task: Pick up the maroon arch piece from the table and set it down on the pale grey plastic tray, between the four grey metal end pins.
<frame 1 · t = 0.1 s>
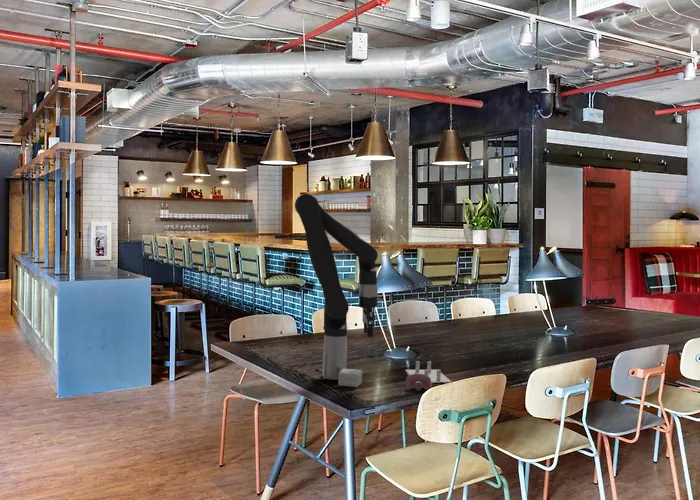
hand: (368, 335, 256), 17 cm above the table, tool pointing down, fingers open, 8 cm apart
pin tray: (427, 377, 258), on the table
small box: (350, 384, 245), on the table
maroon arch piece: (418, 390, 240), on the table
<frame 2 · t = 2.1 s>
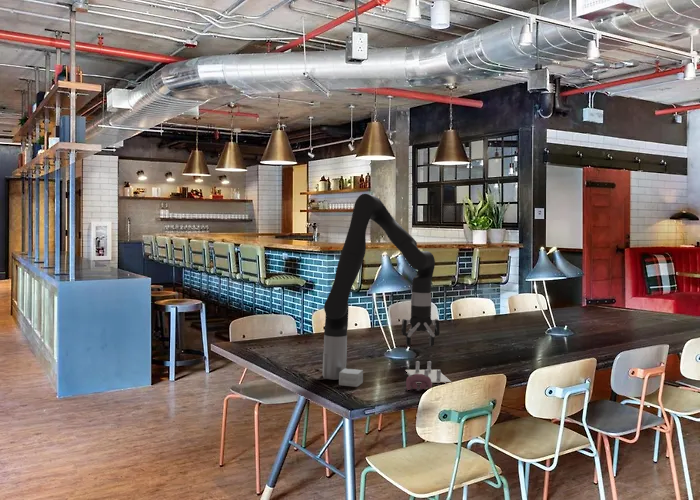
hand: (420, 346, 239), 16 cm above the table, tool pointing down, fingers open, 8 cm apart
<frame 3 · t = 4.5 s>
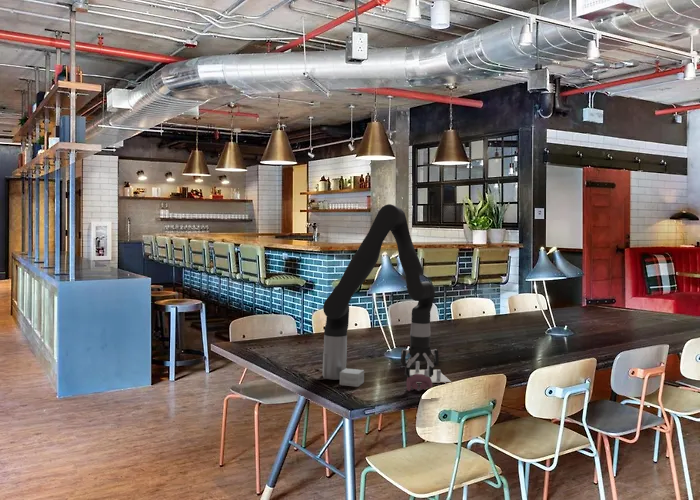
hand: (419, 376, 240), 5 cm above the table, tool pointing down, fingers closed on maroon arch piece, 8 cm apart
maroon arch piece: (419, 390, 239), on the table, touching gripper
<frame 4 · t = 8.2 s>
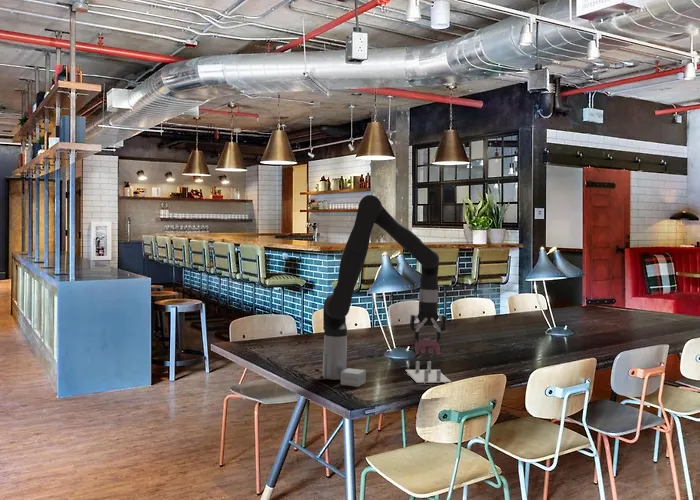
hand: (427, 341, 252), 16 cm above the table, tool pointing down, fingers closed on maroon arch piece, 7 cm apart
maroon arch piece: (427, 354, 252), point 11 cm above the table, touching gripper
when the fingers open (6 cm above the table, at t = 11.7 s): maroon arch piece stays where it is, resting on pin tray.
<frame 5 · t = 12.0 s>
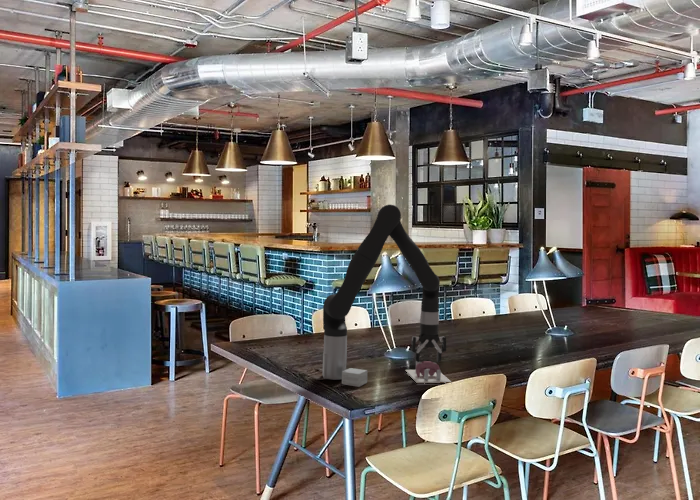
hand: (428, 361, 257), 7 cm above the table, tool pointing down, fingers open, 8 cm apart
maroon arch piece: (427, 376, 257), point 1 cm above the table, touching pin tray
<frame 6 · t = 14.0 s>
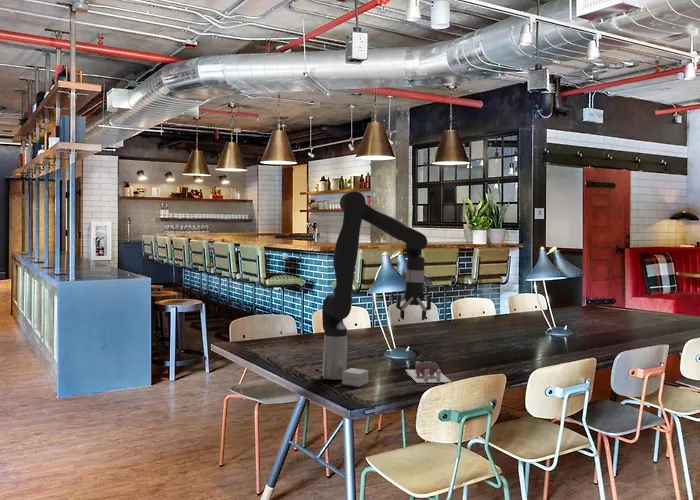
hand: (412, 319, 263), 23 cm above the table, tool pointing down, fingers open, 8 cm apart
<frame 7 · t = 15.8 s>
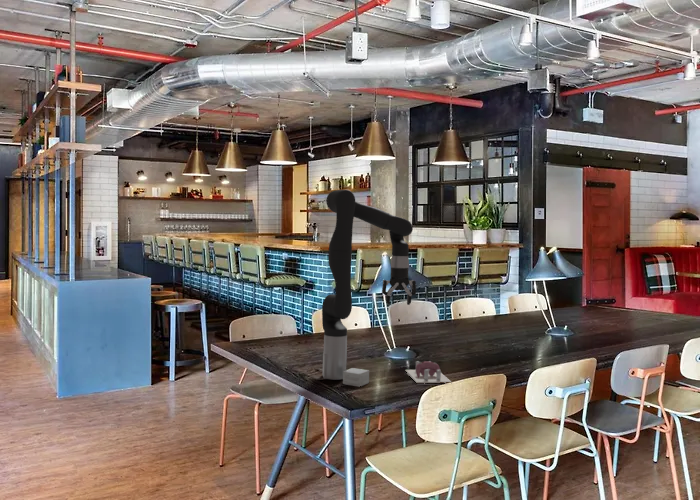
hand: (398, 304, 269), 28 cm above the table, tool pointing down, fingers open, 8 cm apart
at the end: maroon arch piece 1.4 cm off-centre on the pin tray, point 0.8 cm above the pin tray's base; the gripper is holding nothing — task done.
